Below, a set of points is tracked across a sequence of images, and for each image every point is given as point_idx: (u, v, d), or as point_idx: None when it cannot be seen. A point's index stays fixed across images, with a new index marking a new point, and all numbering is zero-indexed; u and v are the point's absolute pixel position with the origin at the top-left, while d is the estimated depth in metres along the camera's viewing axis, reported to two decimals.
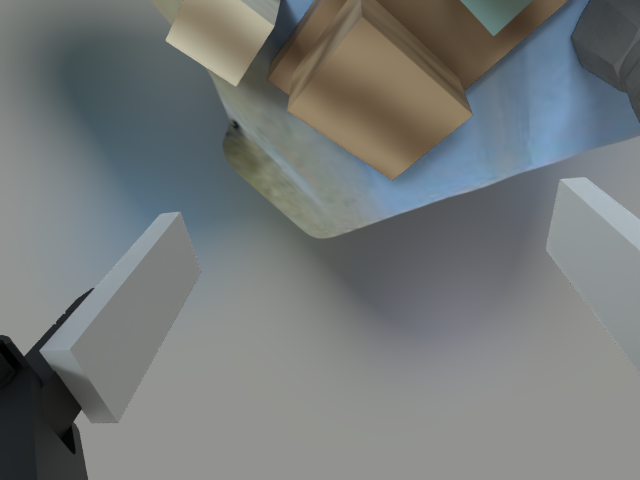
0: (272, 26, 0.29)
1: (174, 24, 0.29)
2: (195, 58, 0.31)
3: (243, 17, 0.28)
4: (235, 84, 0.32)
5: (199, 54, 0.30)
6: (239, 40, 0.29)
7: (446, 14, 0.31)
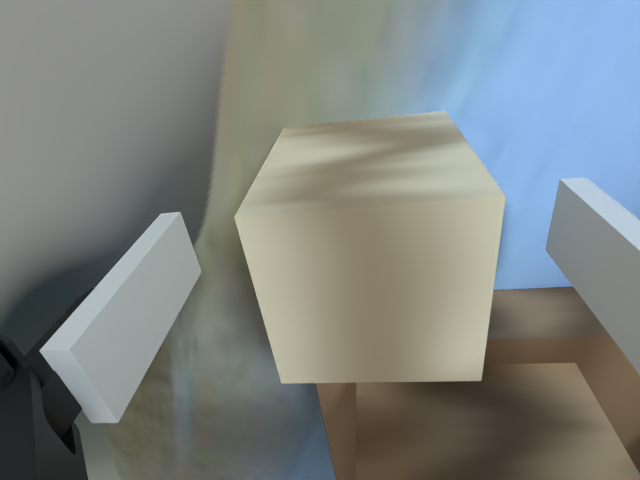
0: (477, 377, 0.11)
1: (301, 216, 0.09)
2: (259, 294, 0.10)
3: (452, 330, 0.10)
4: (285, 381, 0.12)
5: (280, 297, 0.10)
6: (392, 346, 0.11)
7: None
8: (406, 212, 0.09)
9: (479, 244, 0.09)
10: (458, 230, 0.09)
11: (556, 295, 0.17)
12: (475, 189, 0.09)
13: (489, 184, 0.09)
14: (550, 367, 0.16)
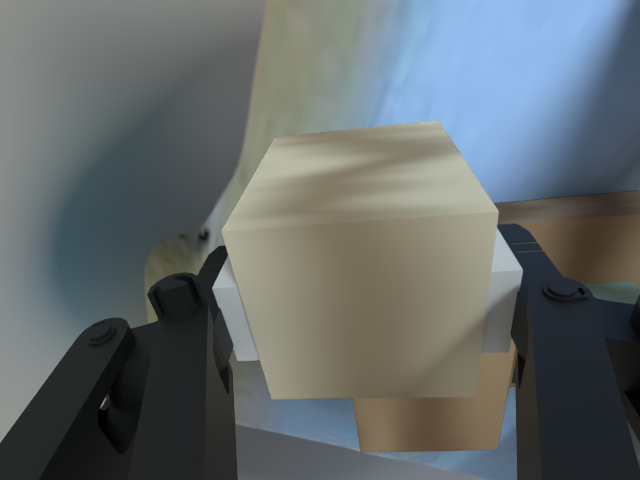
0: (471, 393, 0.11)
1: (290, 231, 0.09)
2: (248, 309, 0.10)
3: (446, 346, 0.10)
4: (275, 397, 0.12)
5: (269, 312, 0.10)
6: (384, 362, 0.11)
7: None
8: (398, 227, 0.08)
9: (472, 260, 0.09)
10: (450, 245, 0.09)
11: None
12: (468, 204, 0.08)
13: (482, 198, 0.09)
14: None
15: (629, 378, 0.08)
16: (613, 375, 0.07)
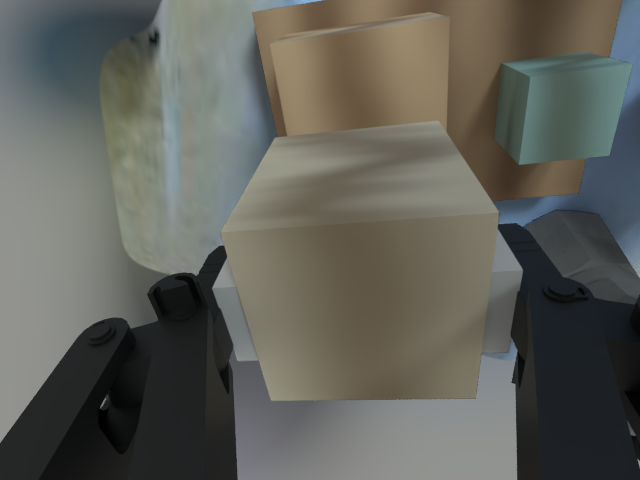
0: (472, 395, 0.11)
1: (289, 232, 0.09)
2: (247, 310, 0.10)
3: (446, 348, 0.10)
4: (275, 398, 0.12)
5: (268, 313, 0.10)
6: (384, 364, 0.11)
7: (469, 119, 0.27)
8: (398, 228, 0.08)
9: (473, 261, 0.09)
10: (450, 246, 0.09)
11: None
12: (468, 205, 0.08)
13: (483, 199, 0.09)
14: (413, 14, 0.24)
15: (629, 377, 0.08)
16: (613, 375, 0.07)
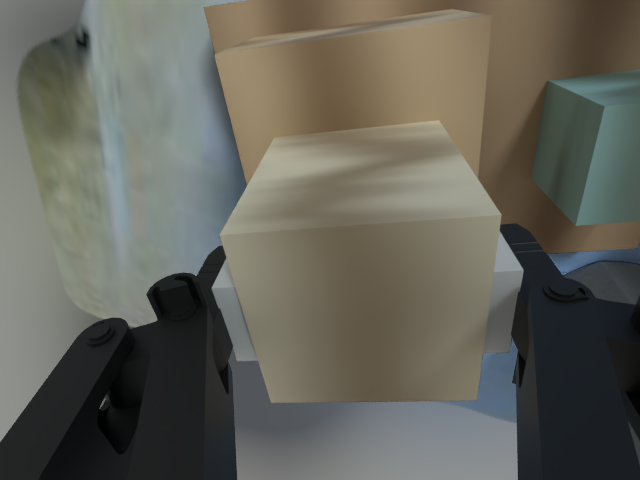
0: (473, 397, 0.11)
1: (289, 235, 0.09)
2: (246, 313, 0.10)
3: (447, 350, 0.10)
4: (275, 400, 0.12)
5: (268, 316, 0.10)
6: (385, 366, 0.11)
7: (499, 153, 0.20)
8: (398, 231, 0.08)
9: (475, 264, 0.09)
10: (452, 249, 0.08)
11: None
12: (469, 207, 0.08)
13: (484, 201, 0.08)
14: (428, 12, 0.17)
15: (631, 378, 0.08)
16: (614, 375, 0.07)
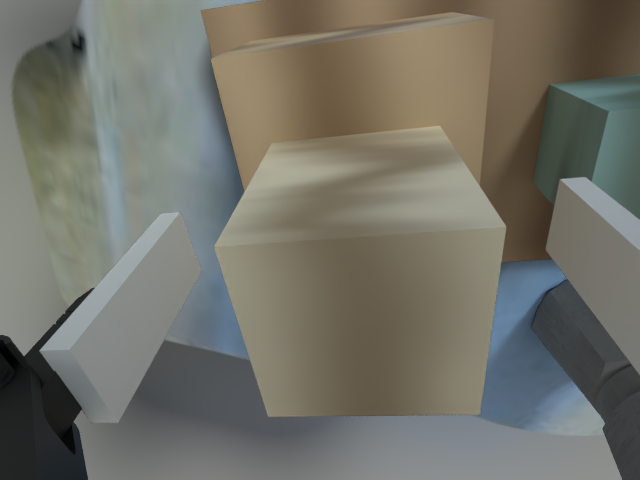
0: (476, 411, 0.11)
1: (286, 247, 0.08)
2: (242, 326, 0.10)
3: (449, 364, 0.10)
4: (272, 414, 0.11)
5: (265, 329, 0.10)
6: (386, 380, 0.10)
7: (500, 158, 0.20)
8: (399, 242, 0.08)
9: (478, 277, 0.08)
10: (455, 261, 0.08)
11: None
12: (473, 219, 0.08)
13: (488, 212, 0.08)
14: (428, 15, 0.17)
15: None
16: None
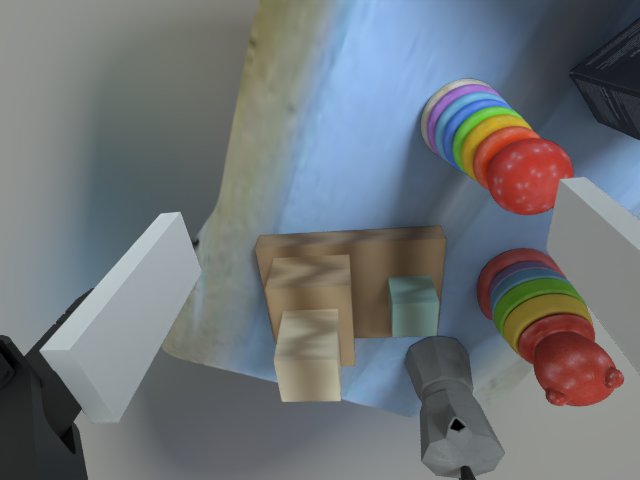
0: (339, 399, 0.39)
1: (290, 361, 0.37)
2: (277, 377, 0.38)
3: (330, 387, 0.38)
4: (283, 401, 0.40)
5: (283, 378, 0.38)
6: (314, 391, 0.39)
7: (373, 299, 0.49)
8: (315, 361, 0.37)
9: (333, 368, 0.37)
10: (327, 365, 0.37)
11: (348, 232, 0.47)
12: (331, 356, 0.37)
13: (335, 354, 0.37)
14: (340, 255, 0.46)
15: None
16: None
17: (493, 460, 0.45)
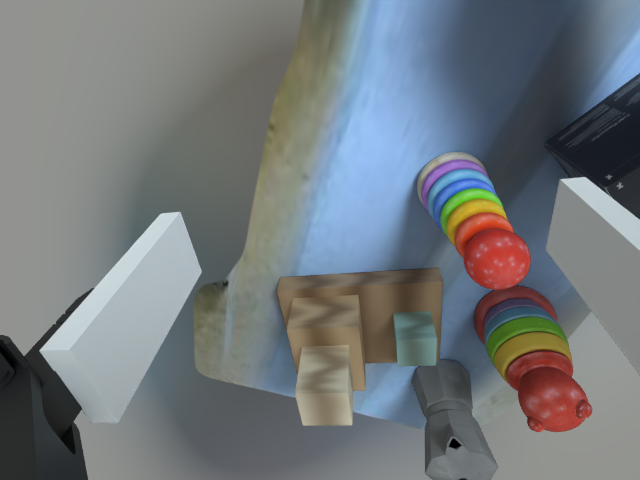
0: (351, 424, 0.46)
1: (308, 394, 0.44)
2: (299, 406, 0.45)
3: (343, 414, 0.45)
4: (304, 424, 0.47)
5: (303, 407, 0.45)
6: (330, 417, 0.46)
7: (381, 331, 0.56)
8: (329, 394, 0.44)
9: (345, 399, 0.44)
10: (340, 397, 0.44)
11: (357, 274, 0.54)
12: (343, 389, 0.44)
13: (346, 388, 0.44)
14: (350, 296, 0.52)
15: None
16: None
17: (488, 473, 0.51)
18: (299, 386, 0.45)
